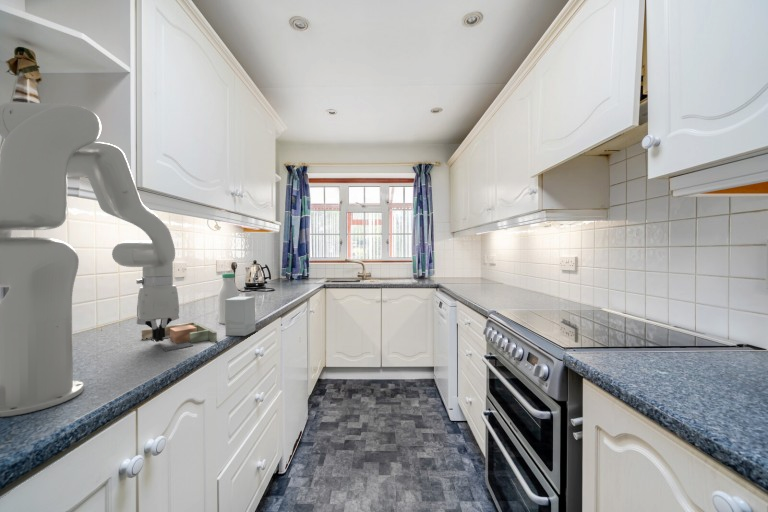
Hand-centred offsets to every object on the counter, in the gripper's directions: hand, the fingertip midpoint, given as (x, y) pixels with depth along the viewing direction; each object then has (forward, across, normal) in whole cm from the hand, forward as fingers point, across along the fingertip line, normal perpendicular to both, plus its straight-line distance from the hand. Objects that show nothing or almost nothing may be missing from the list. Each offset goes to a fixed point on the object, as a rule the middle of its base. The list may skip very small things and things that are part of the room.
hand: (158, 340), depth 94 cm
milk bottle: (+1, +26, +15) cm, 31 cm away
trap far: (+1, +3, +8) cm, 9 cm away
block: (+1, +7, 0) cm, 7 cm away
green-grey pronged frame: (+1, +5, 0) cm, 5 cm away
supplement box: (+1, +23, -6) cm, 23 cm away
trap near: (+1, +3, -8) cm, 8 cm away
